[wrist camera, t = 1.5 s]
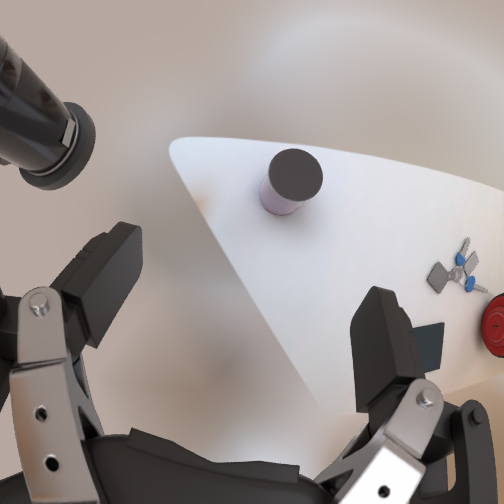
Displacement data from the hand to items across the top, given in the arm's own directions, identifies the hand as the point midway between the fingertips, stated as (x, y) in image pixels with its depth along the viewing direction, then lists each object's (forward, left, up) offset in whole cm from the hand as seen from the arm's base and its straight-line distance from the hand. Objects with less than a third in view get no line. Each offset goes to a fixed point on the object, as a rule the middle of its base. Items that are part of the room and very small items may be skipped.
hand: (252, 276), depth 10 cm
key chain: (+32, -1, -23) cm, 40 cm away
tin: (+5, +8, -23) cm, 25 cm away
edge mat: (+23, -12, -23) cm, 35 cm away
